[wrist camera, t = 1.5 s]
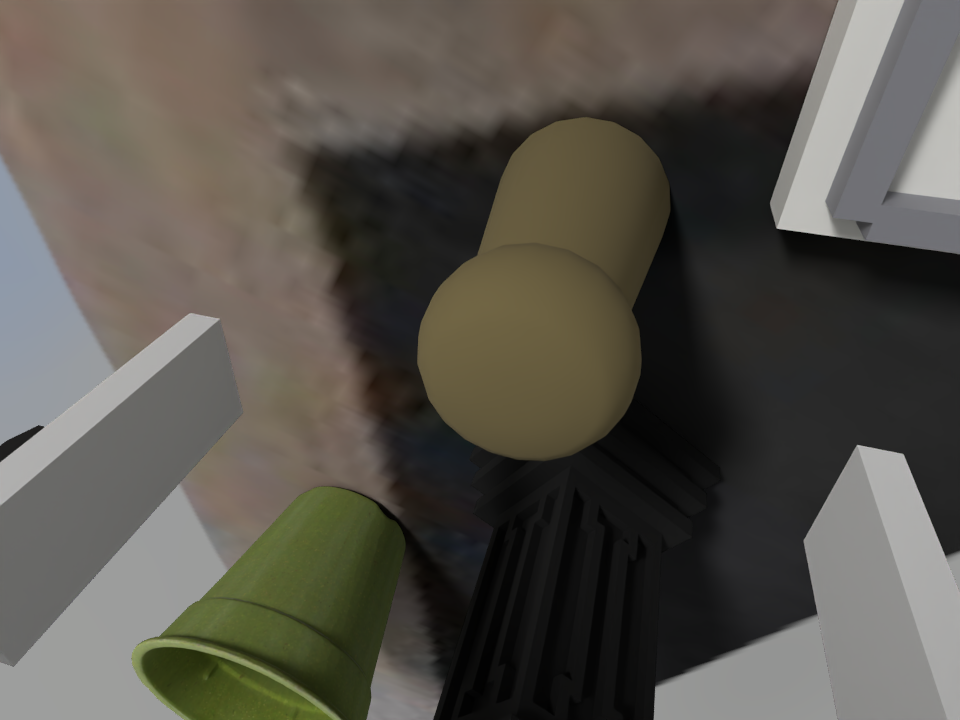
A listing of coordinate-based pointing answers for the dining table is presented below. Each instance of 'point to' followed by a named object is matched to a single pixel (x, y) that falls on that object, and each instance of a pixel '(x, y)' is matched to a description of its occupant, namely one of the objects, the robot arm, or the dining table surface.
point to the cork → (550, 296)
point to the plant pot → (286, 620)
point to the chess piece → (574, 576)
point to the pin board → (880, 129)
